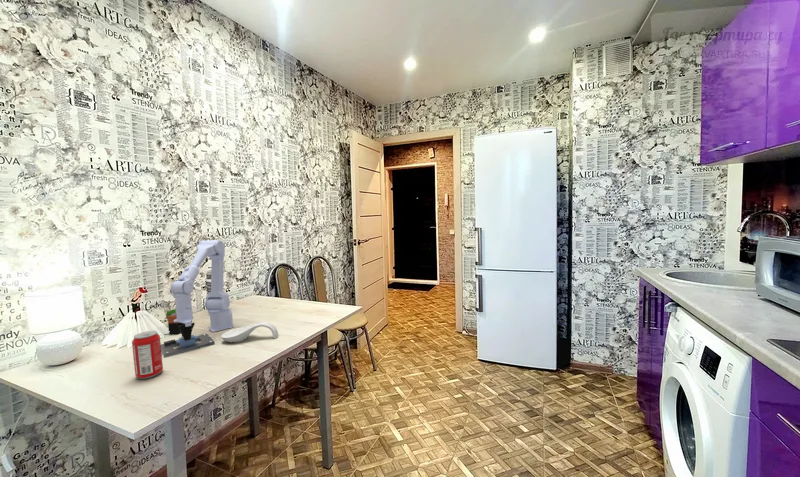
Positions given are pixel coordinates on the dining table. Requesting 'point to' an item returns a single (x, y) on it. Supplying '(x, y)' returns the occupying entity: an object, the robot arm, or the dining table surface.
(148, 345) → the soda can
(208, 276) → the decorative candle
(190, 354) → the dining table surface
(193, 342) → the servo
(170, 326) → the battery
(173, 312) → the bell pepper
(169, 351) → the plate
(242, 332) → the spoon rest
